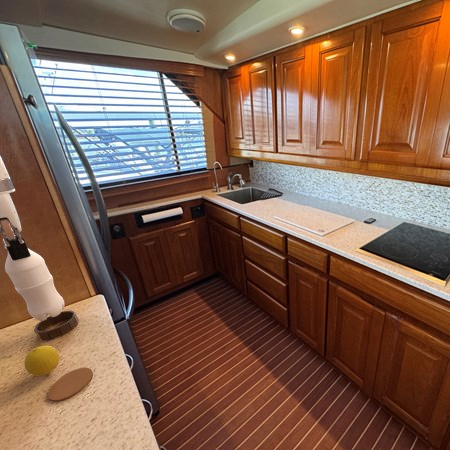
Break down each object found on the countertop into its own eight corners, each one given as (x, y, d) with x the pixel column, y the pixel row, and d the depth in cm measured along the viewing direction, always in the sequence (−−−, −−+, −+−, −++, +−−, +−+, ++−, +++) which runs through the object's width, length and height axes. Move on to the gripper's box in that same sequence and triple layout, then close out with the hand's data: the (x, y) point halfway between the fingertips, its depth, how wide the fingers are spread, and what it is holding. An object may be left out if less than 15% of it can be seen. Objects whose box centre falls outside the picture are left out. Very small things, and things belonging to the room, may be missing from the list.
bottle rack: (29, 341, 68) (25, 333, 67) (55, 319, 76) (52, 311, 75) (63, 338, 69) (59, 330, 67) (85, 316, 77) (82, 309, 76)
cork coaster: (38, 403, 52) (37, 402, 52) (66, 370, 59) (66, 369, 59) (76, 399, 53) (76, 397, 52) (100, 367, 60) (99, 365, 60)
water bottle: (60, 319, 68) (20, 240, 59) (27, 326, 66) (-20, 245, 57) (71, 303, 74) (37, 230, 65) (42, 309, 72) (2, 234, 63)
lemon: (62, 358, 62) (50, 335, 59) (66, 370, 59) (53, 346, 56) (32, 373, 58) (17, 349, 56) (34, 388, 55) (19, 363, 52)
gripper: (-36, 185, 59) (-2, 251, 65) (-39, 195, 49) (0, 272, 55) (10, 181, 64) (37, 242, 71) (15, 189, 54) (45, 259, 61)
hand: (20, 254), depth 63 cm, fingers closed on water bottle, 4 cm apart
